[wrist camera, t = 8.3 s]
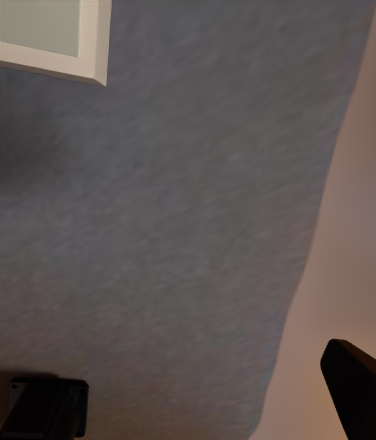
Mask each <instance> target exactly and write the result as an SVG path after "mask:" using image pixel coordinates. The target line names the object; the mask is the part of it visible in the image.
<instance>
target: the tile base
mask: <svg viewBox="0 0 376 440" xmlns="http://www.w3.org/2000/svg"><path fill="white" fill-rule="evenodd" d="M111 3H112V0H0V66H2V67H7V68H12V69H18V70H23V71H28V72H33V73H38V74H43V75H48V76H53V77H58V78H64V79H69V80H74V81H79V82H84V83H89V84H94V85H99V86H104V87H106V80H107V64H108V49H109V33H110V18H111Z"/></svg>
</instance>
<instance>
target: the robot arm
mask: <svg viewBox="0 0 376 440" xmlns="http://www.w3.org/2000/svg"><path fill="white" fill-rule="evenodd" d="M320 366H321V370H322V373H323V376H324V379H325V381H326V384H327V386H328V389H329V392H330V395H331V397H332V399H333V403H334V405H335V408H336V411H337V413H338V416H339V419H340V421H341V424H342V426H343V429H344V431H345V433H346V436H347V438H348V440H376V359H374V358H373V357H371V356H370V355H368V354H367V353H365V352H363V351H362V350H361V349H359V348H358V347H356V346H354V345H353V344H351V343H350V342H348V341H346V340H342V339H331V340H330V341H329V342H328V345H327V346H326V349H325V351H324V353H323V356H322V358H321V361H320ZM88 392H89V385H88V384H87V383H84V382H69V381H54V380H39V379H24V378H14V379H12V380H11V382H10V383H9V385H8V393H9V408H10V413H9V415H8V417H7V419H6V420H5V422H4V424H3V426H2V427H1V429H0V440H74V437H78V438H79V437H83V436H84V434H85V431H86V421H87V407H88Z"/></svg>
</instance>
